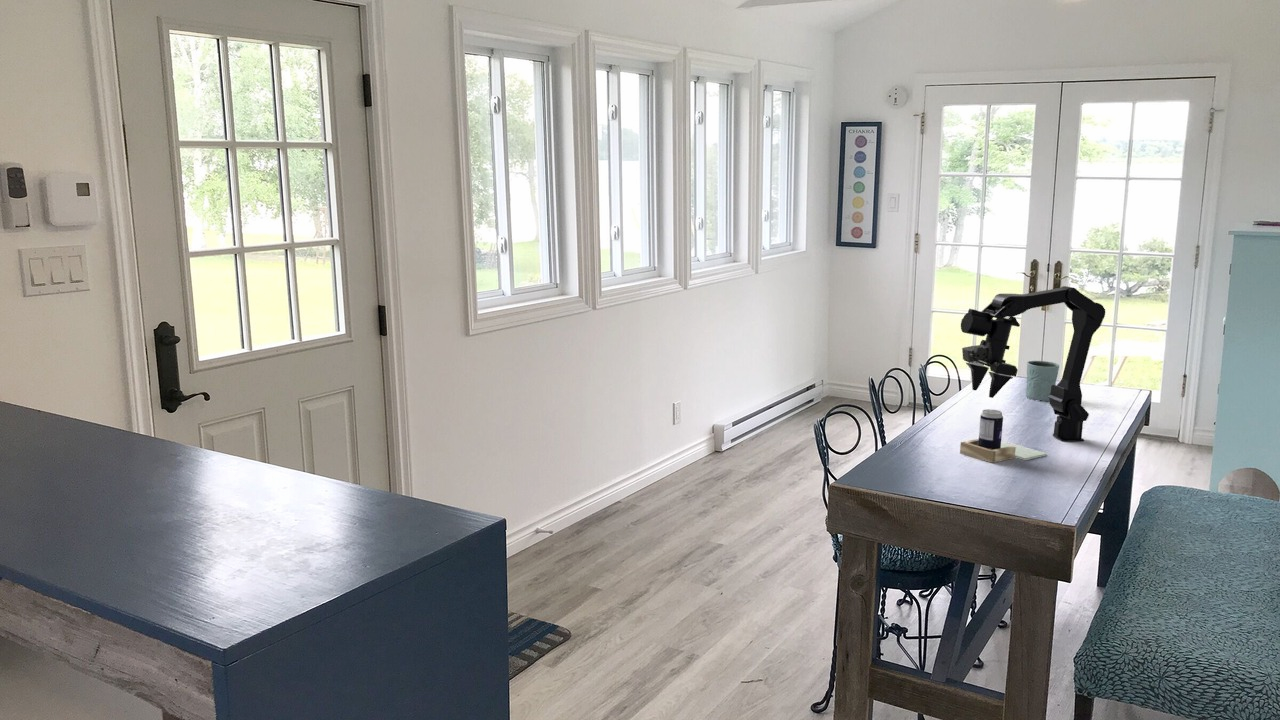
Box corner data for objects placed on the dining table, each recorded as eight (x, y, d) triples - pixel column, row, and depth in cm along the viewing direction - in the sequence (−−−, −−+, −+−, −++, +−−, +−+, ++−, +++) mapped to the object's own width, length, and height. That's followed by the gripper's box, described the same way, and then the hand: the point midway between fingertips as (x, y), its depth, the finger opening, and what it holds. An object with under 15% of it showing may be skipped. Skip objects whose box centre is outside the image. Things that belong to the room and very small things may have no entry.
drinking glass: (1032, 393, 337) (1035, 359, 335) (1061, 398, 330) (1064, 363, 328) (1018, 397, 330) (1021, 363, 328) (1047, 403, 323) (1051, 367, 321)
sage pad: (997, 441, 276) (997, 439, 276) (1046, 455, 262) (1046, 453, 262) (975, 445, 271) (975, 443, 271) (1024, 460, 258) (1025, 458, 258)
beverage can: (1001, 458, 259) (1005, 414, 256) (978, 457, 260) (982, 413, 258) (998, 453, 264) (1001, 409, 262) (976, 451, 265) (979, 408, 263)
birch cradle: (982, 448, 268) (983, 437, 268) (1014, 457, 260) (1015, 446, 259) (959, 452, 264) (960, 442, 263) (991, 462, 255) (992, 451, 254)
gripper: (954, 328, 278) (940, 381, 280) (987, 340, 260) (972, 396, 262) (989, 335, 280) (975, 388, 282) (1025, 347, 262) (1010, 403, 264)
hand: (982, 393), depth 273 cm, fingers open, 9 cm apart
